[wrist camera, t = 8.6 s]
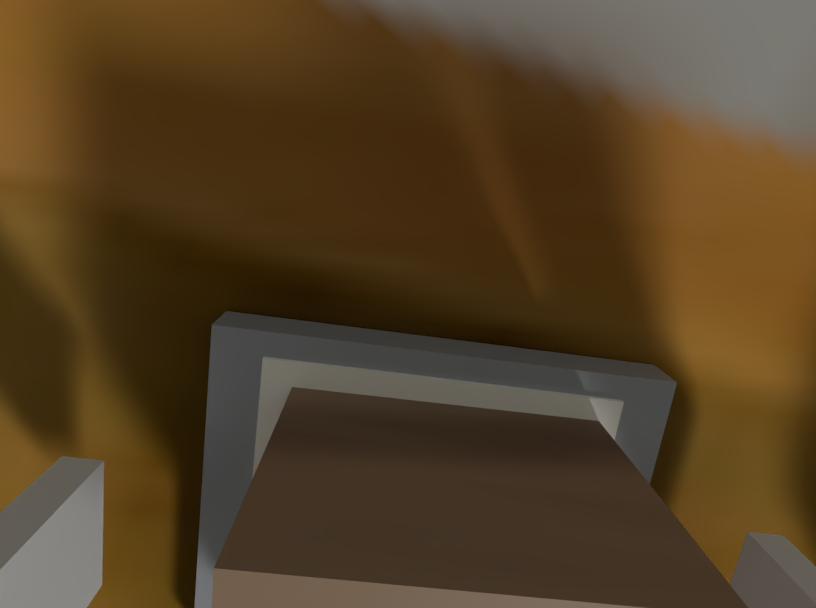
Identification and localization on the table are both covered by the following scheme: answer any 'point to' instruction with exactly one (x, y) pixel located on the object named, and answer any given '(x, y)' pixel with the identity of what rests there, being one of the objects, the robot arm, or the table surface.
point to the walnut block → (453, 515)
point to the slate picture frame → (395, 396)
